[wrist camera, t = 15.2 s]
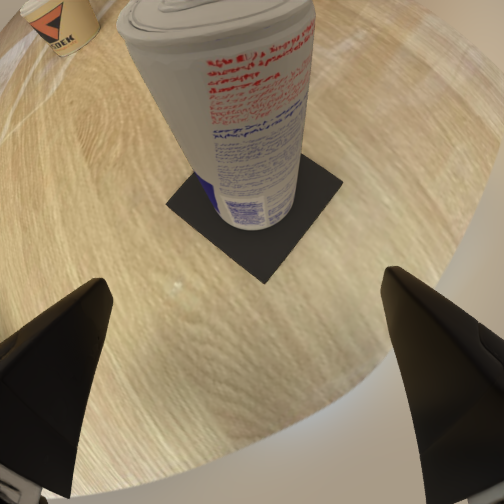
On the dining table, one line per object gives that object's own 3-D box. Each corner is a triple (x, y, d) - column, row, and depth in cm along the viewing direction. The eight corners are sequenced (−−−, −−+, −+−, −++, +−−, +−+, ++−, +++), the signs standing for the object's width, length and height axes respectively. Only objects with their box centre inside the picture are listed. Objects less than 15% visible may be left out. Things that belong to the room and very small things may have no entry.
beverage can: (304, 171, 20) (333, -34, 5) (279, 244, 19) (284, 46, 4) (231, 150, 21) (177, -40, 6) (200, 217, 20) (75, 44, 5)
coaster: (341, 185, 20) (343, 181, 19) (264, 284, 19) (264, 283, 18) (245, 123, 22) (244, 119, 21) (168, 206, 21) (165, 204, 20)
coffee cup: (44, 65, 28) (7, 20, 16) (74, 28, 30) (46, -16, 18) (84, 54, 27) (46, -3, 15) (115, 16, 29) (88, -37, 17)
